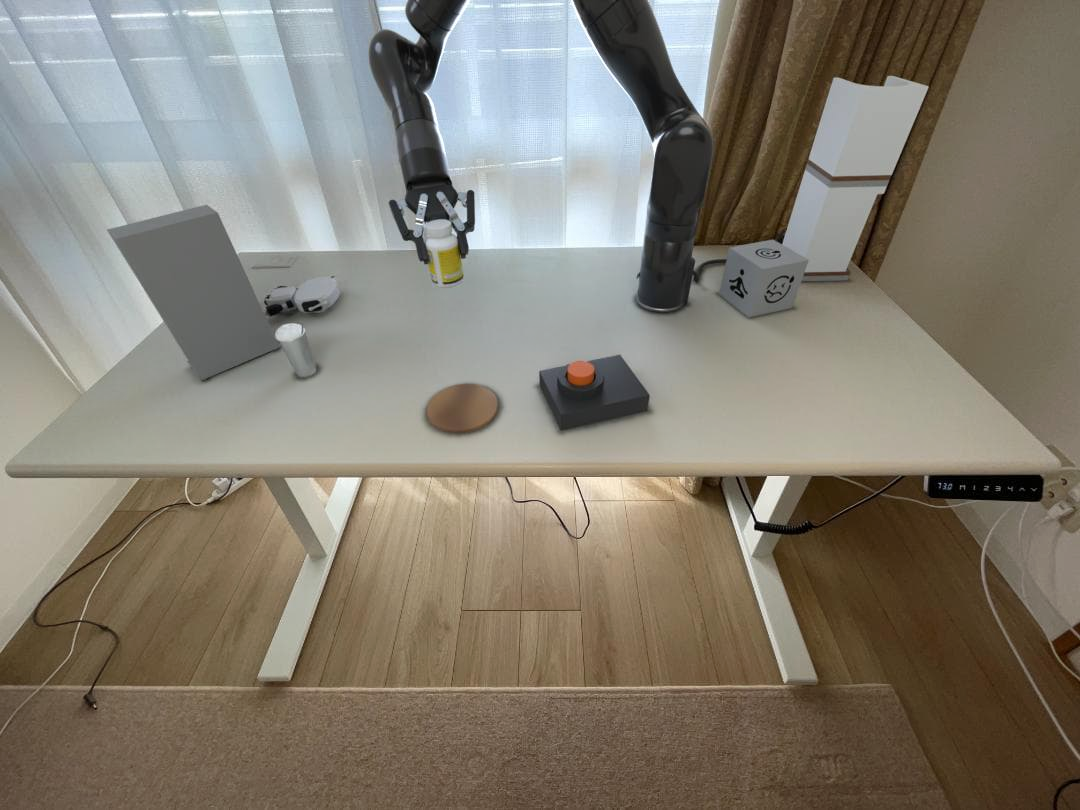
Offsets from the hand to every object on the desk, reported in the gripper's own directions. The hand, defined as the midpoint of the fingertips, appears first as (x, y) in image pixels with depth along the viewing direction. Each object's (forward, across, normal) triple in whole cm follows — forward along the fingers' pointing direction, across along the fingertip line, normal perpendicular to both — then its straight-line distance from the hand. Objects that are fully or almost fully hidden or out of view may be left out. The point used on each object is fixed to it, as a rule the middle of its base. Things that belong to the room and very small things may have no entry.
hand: (445, 259), depth 78 cm
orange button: (+24, +16, -6) cm, 29 cm away
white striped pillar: (+9, +80, +16) cm, 82 cm away
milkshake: (+12, -26, +12) cm, 31 cm away
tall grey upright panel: (+5, -40, +19) cm, 44 cm away
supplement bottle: (+2, 0, +5) cm, 5 cm away
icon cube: (+14, +60, +10) cm, 62 cm away
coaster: (+24, -2, 0) cm, 24 cm away
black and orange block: (+27, +18, -3) cm, 32 cm away
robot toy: (-5, -29, +29) cm, 41 cm away
